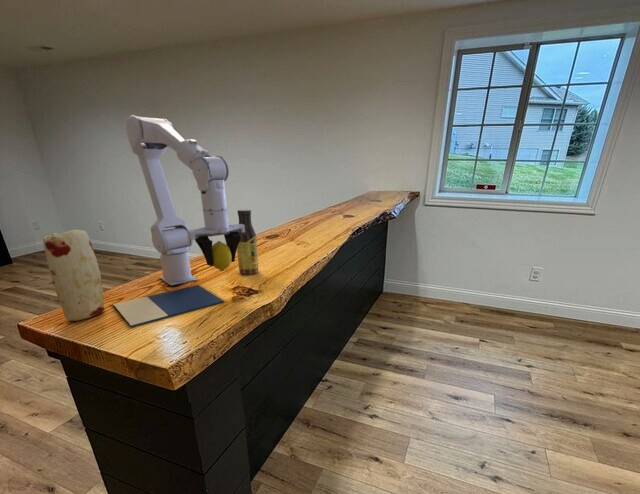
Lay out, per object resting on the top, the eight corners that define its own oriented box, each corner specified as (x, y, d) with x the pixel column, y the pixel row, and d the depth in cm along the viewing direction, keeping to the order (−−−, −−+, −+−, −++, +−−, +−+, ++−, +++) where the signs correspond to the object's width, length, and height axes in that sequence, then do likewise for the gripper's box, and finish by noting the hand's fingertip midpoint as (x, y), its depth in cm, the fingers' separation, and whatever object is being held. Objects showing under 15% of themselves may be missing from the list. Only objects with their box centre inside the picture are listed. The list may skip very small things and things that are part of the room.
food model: (77, 327, 76) (49, 236, 68) (57, 321, 78) (28, 233, 71) (116, 310, 85) (96, 227, 77) (97, 306, 87) (75, 225, 79)
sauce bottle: (256, 275, 110) (252, 211, 102) (237, 275, 110) (230, 211, 102) (260, 269, 116) (256, 208, 108) (241, 269, 116) (236, 208, 108)
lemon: (227, 275, 88) (224, 244, 85) (207, 273, 89) (203, 242, 86) (236, 268, 93) (233, 239, 90) (217, 267, 94) (214, 238, 91)
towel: (113, 305, 87) (112, 303, 87) (198, 286, 101) (198, 284, 101) (131, 327, 76) (130, 325, 76) (223, 302, 90) (223, 300, 90)
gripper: (193, 214, 78) (200, 272, 83) (249, 208, 87) (253, 261, 92) (180, 210, 83) (189, 265, 88) (235, 206, 92) (239, 256, 97)
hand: (221, 263), depth 91 cm, fingers closed on lemon, 5 cm apart
